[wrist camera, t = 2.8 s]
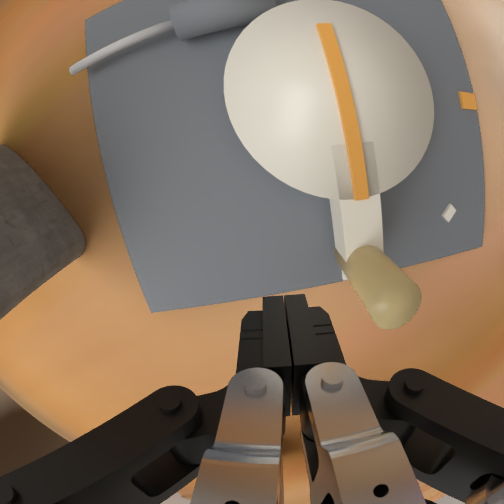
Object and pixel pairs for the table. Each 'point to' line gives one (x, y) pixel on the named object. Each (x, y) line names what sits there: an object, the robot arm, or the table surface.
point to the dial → (336, 127)
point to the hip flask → (31, 232)
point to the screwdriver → (188, 24)
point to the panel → (252, 173)
